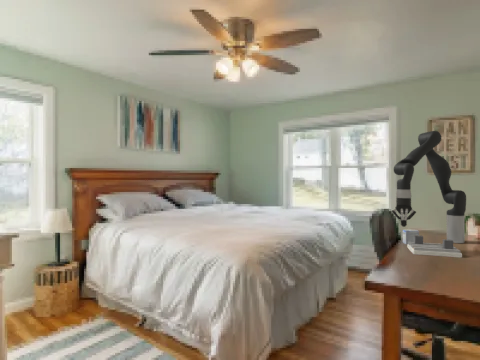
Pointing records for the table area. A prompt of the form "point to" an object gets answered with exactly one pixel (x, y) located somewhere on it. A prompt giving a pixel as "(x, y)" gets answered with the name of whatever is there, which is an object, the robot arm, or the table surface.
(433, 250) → the switch board
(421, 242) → the inner tab
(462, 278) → the table surface
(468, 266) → the table surface
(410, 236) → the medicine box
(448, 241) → the grey slider block
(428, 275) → the table surface
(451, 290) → the table surface
